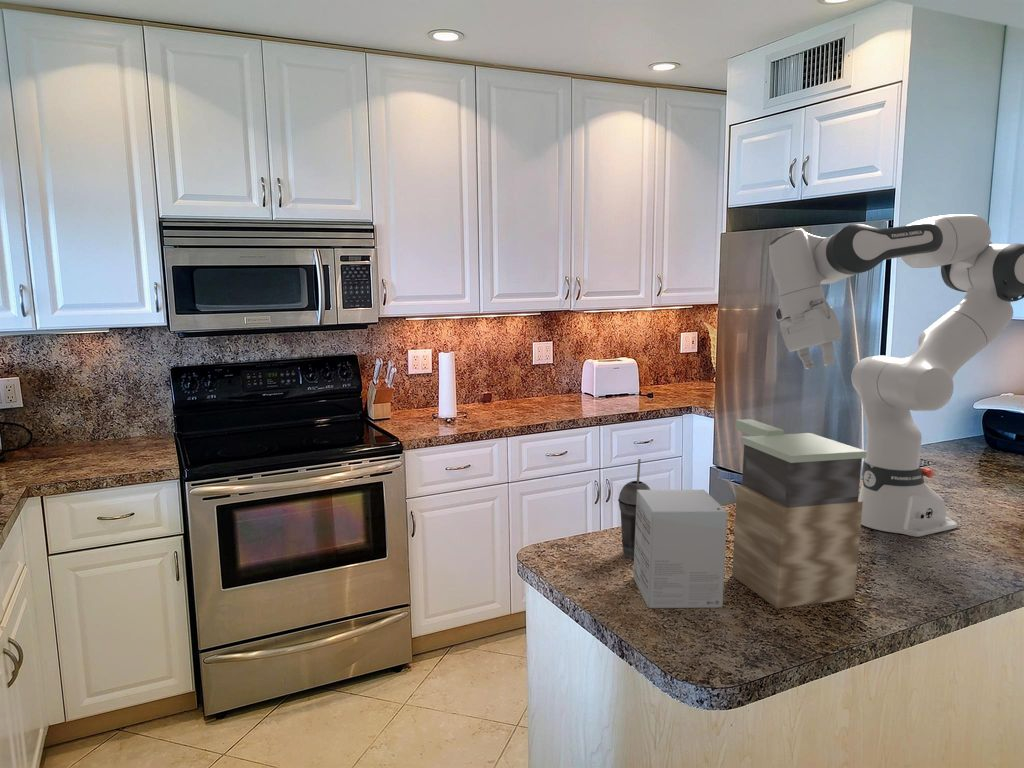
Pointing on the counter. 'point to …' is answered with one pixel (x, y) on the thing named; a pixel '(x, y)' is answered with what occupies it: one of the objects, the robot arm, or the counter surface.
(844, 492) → the tub stand
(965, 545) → the counter surface
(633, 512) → the beverage cup
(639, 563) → the supplement box
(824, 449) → the lid
